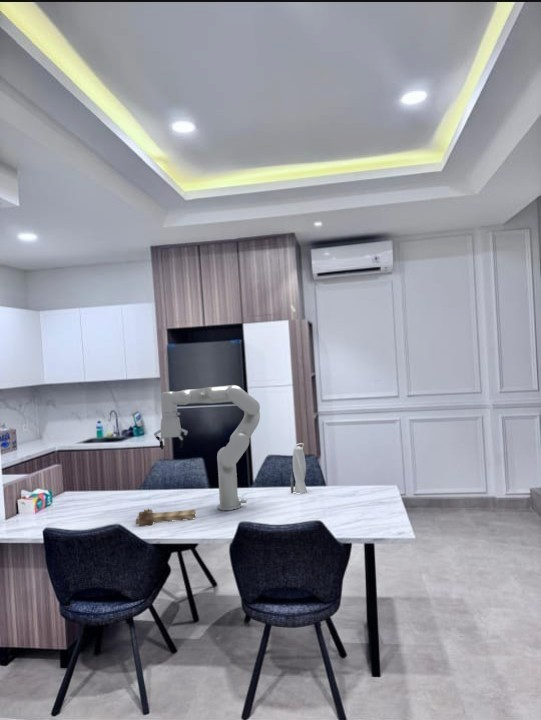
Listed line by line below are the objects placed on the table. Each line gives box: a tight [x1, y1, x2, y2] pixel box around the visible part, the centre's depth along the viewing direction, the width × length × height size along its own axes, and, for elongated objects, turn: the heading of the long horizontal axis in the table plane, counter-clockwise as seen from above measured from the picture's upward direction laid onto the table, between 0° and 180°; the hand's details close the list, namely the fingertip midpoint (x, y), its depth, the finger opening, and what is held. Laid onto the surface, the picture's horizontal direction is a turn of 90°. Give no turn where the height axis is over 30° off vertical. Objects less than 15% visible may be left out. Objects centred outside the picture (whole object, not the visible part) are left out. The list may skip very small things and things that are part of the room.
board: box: [135, 509, 196, 525], centre depth 239 cm, size 28×8×2 cm, turn 96°
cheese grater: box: [289, 442, 308, 495], centre depth 278 cm, size 8×8×28 cm
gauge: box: [138, 508, 154, 527], centre depth 236 cm, size 6×11×7 cm, turn 6°
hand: (171, 448), depth 250 cm, fingers open, 9 cm apart
